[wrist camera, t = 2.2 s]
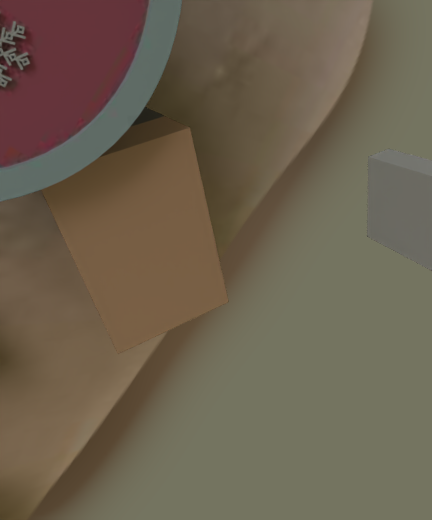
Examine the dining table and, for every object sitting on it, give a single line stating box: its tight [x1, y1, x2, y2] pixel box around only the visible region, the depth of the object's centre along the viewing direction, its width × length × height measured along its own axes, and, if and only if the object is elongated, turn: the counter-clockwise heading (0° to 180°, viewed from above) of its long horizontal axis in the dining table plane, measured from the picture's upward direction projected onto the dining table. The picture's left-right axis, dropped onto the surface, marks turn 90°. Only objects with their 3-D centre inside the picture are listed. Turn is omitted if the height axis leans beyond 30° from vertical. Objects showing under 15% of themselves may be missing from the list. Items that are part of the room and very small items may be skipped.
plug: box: [41, 107, 229, 354], centre depth 15 cm, size 6×4×9 cm, turn 13°
